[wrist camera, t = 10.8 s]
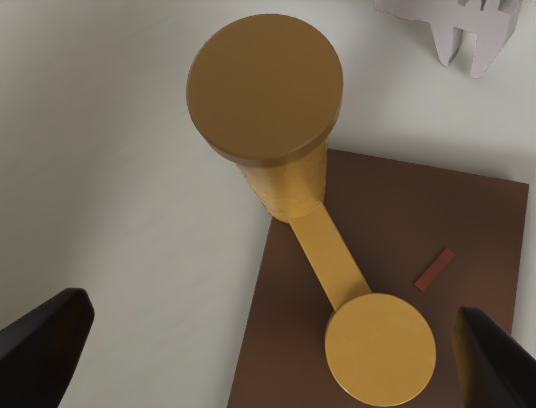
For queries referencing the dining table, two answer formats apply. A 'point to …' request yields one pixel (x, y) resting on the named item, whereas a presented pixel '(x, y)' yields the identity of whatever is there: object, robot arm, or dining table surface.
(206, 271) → the dining table surface
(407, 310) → the yellow crank handle
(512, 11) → the caliper
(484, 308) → the plate
